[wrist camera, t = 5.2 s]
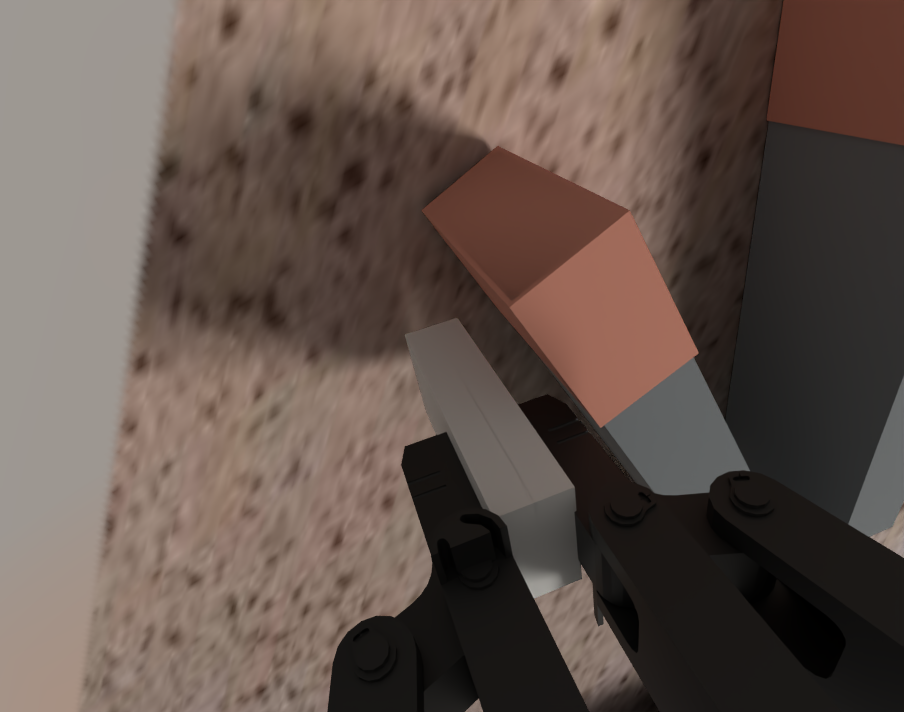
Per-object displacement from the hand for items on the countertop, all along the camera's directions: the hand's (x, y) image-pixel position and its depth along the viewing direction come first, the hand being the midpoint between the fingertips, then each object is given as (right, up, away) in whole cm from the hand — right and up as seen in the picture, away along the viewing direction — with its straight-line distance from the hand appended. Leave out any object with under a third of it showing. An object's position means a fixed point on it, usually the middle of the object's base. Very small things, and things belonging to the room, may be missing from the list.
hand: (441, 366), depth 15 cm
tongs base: (+11, +1, +6) cm, 13 cm away
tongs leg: (+5, 0, +4) cm, 7 cm away
